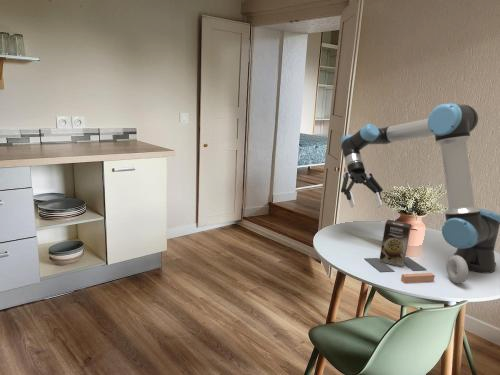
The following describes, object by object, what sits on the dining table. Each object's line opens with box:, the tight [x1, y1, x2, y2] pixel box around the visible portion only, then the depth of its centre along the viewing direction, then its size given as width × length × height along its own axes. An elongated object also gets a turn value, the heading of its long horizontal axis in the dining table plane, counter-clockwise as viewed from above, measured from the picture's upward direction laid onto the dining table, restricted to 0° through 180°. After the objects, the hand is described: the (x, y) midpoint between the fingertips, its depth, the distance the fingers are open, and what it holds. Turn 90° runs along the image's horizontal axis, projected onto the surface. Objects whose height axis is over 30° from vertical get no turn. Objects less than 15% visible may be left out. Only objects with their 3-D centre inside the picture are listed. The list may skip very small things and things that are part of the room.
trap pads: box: [364, 256, 428, 273], centre depth 153 cm, size 20×12×1 cm, turn 103°
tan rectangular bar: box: [400, 272, 435, 284], centre depth 140 cm, size 12×2×2 cm, turn 103°
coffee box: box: [378, 219, 412, 268], centre depth 153 cm, size 9×6×16 cm
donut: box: [445, 254, 469, 284], centre depth 141 cm, size 10×4×10 cm, turn 4°
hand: (366, 206), depth 173 cm, fingers open, 13 cm apart
